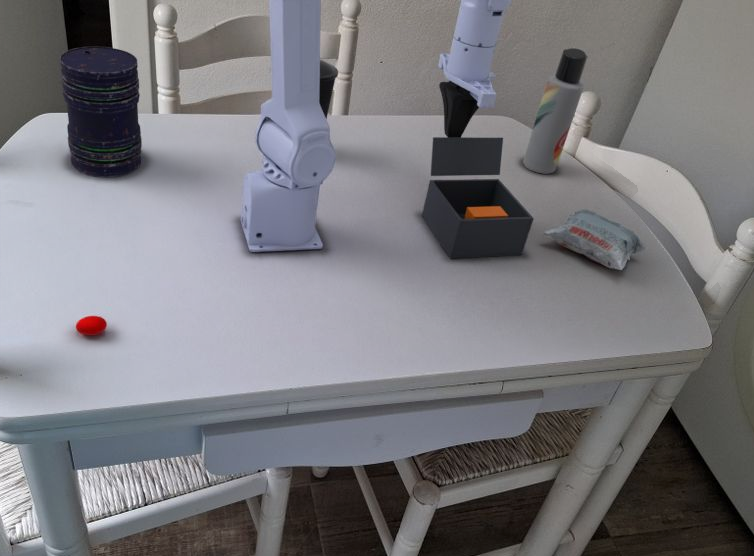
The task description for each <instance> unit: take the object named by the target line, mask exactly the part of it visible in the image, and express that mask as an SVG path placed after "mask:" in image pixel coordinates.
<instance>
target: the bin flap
mask: <svg viewBox="0 0 754 556" xmlns="http://www.w3.org/2000/svg"><path fill="white" fill-rule="evenodd" d="M503 144H504V137H469V136H468V137H467V136H466V137H463V136H461V137H447V136H445V137H444V136H443V137H441V136H439V137H437V136H435V137H432V146H431V147H432V149H431V164H430V177H455V176H460V177H461V176H500V175H501V167H502V166H501V165H502V154H503V146H504V145H503Z"/></svg>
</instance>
